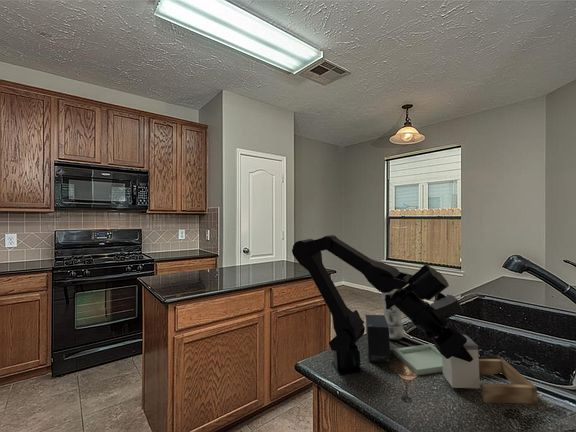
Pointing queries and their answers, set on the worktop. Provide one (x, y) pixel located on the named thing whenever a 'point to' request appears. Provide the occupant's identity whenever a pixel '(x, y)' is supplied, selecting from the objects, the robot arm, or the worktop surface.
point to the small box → (377, 338)
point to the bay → (505, 392)
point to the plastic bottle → (393, 319)
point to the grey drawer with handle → (463, 368)
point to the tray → (421, 358)
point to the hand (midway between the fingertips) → (465, 353)
